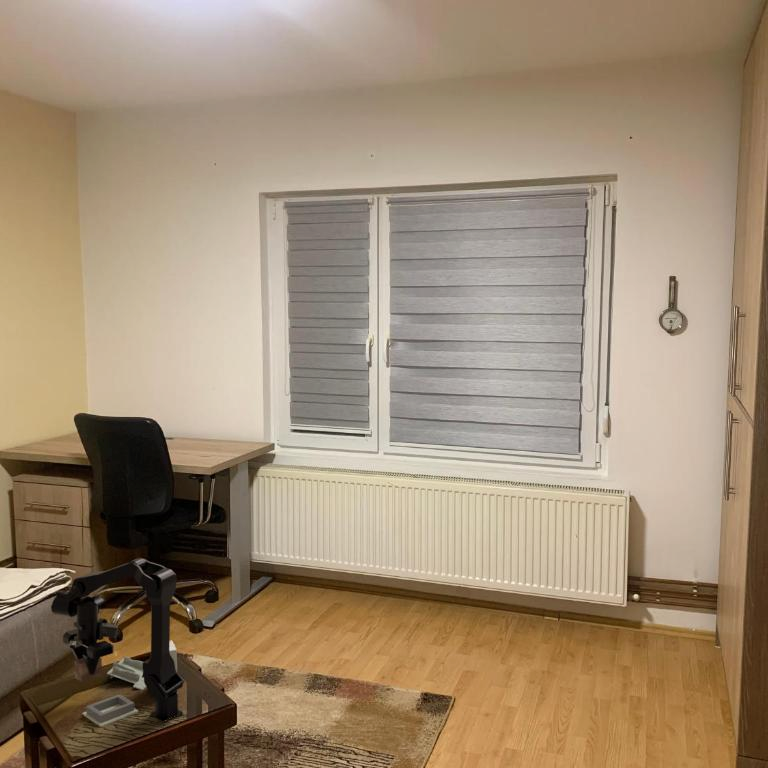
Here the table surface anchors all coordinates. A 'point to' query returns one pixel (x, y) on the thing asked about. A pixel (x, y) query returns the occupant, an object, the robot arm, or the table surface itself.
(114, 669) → the metal bracket
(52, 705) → the table surface
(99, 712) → the socket board
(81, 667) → the walnut block
